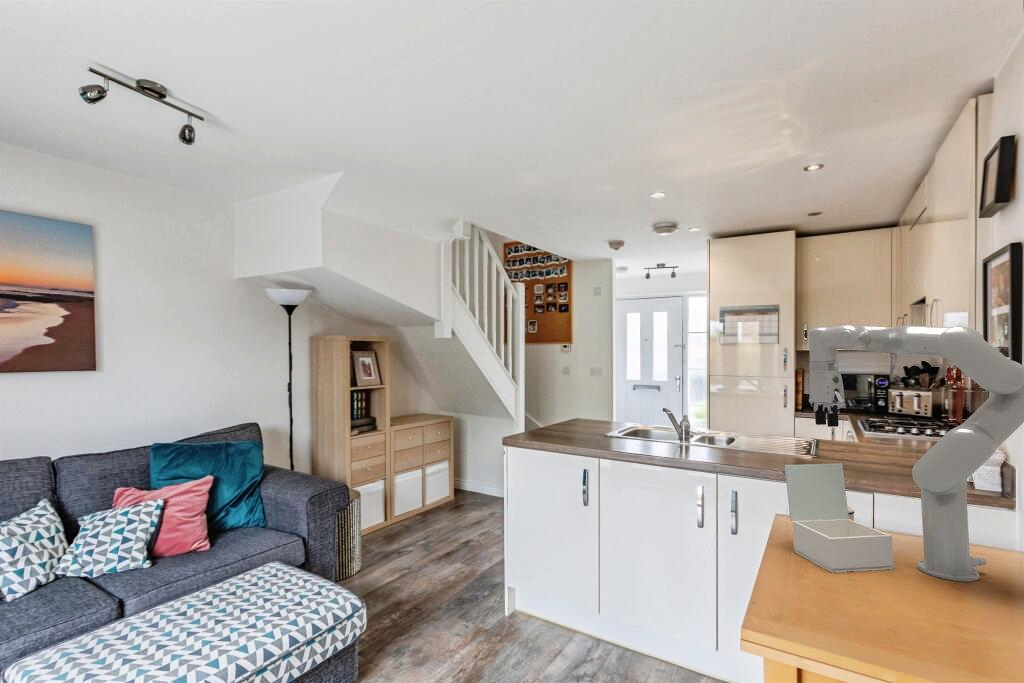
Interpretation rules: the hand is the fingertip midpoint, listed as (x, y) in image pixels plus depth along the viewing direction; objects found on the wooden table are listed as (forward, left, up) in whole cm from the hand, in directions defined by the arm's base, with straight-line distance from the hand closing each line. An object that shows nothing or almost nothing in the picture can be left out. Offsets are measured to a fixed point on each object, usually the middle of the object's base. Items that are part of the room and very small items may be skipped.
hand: (826, 424), depth 159 cm
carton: (+5, +10, -37) cm, 39 cm away
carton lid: (+5, +1, -20) cm, 21 cm away
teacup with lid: (-10, -10, -38) cm, 40 cm away
